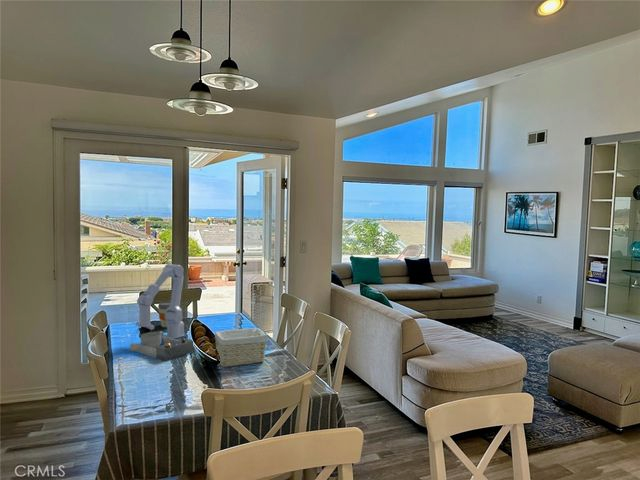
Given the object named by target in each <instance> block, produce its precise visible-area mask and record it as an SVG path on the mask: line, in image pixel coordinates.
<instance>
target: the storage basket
mask: <svg viewBox="0 0 640 480" xmlns="http://www.w3.org/2000/svg"><path fill="white" fill-rule="evenodd" d="M214 337H215V338H214V339H215V350H216V349H217V351H218V353H219V356H220V363H219V365H220V366H221V367H223V368H226V367H235V366H236V367H237V366H240V365H242V366H243V365H251V364H258V363H264V362H265V361H264V359H265V354H266V353H265V351H266V343H267V341H268V335H267V333H265V332H264V331H263V330H262V329H260V328H259V327H257V328H256V327H254V328H253V327H252V328H240V329H226V330H220V331H215V333H214Z"/></svg>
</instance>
